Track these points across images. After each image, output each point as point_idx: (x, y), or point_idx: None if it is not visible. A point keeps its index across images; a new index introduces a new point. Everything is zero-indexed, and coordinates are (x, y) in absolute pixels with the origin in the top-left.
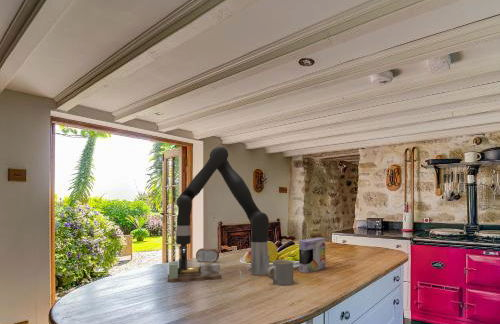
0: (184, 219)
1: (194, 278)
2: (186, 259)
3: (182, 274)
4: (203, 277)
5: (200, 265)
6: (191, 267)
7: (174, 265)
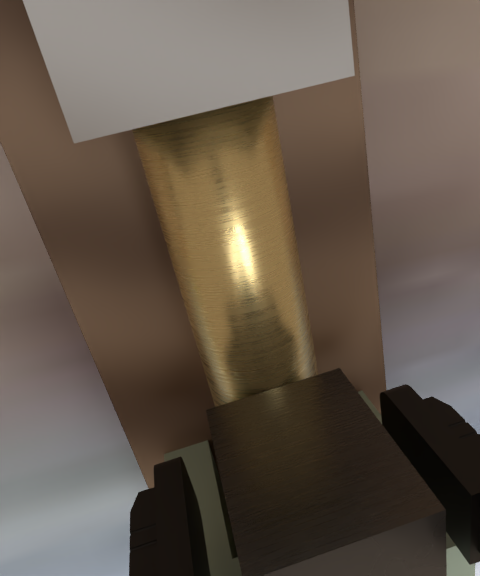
0: None
1: (362, 176)
2: (445, 524)
3: (155, 392)
4: (352, 16)
5: (273, 91)
6: (267, 306)
7: (467, 568)
